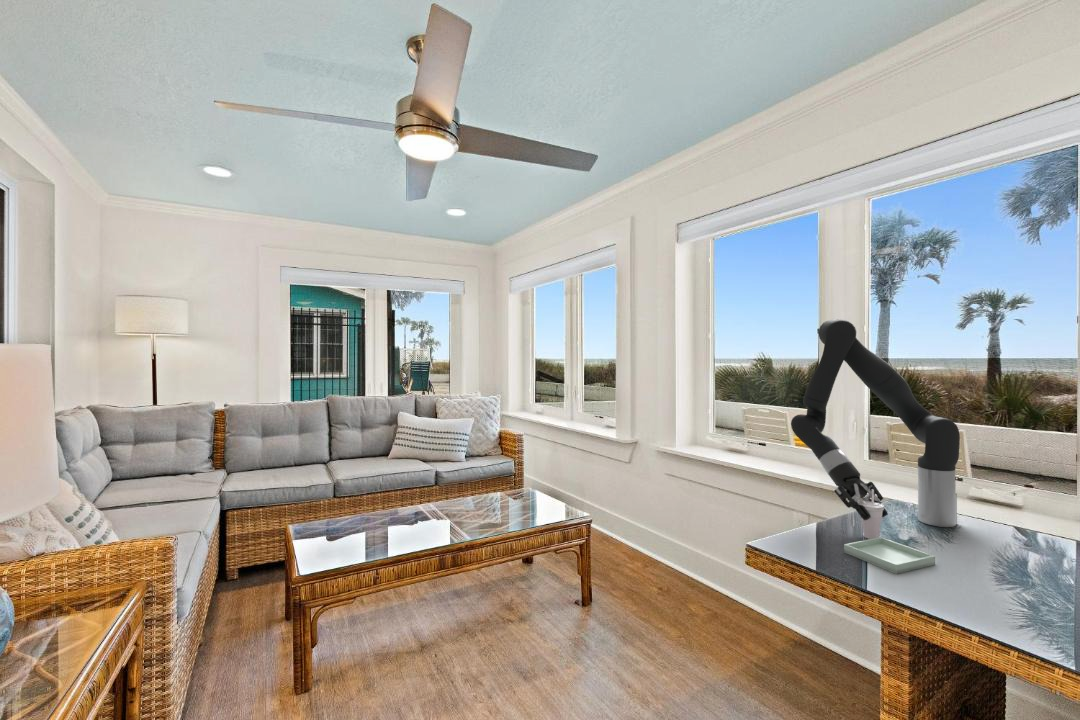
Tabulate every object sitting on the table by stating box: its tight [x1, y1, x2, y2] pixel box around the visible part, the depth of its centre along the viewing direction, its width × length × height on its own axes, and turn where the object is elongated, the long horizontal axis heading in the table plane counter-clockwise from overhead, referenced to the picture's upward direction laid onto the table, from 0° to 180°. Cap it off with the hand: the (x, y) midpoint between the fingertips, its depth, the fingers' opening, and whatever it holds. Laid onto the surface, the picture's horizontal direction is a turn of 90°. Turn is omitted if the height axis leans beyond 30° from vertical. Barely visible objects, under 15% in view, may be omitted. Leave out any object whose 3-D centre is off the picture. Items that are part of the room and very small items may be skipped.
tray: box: [843, 536, 936, 575], centre depth 129 cm, size 14×14×2 cm
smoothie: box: [860, 489, 885, 540], centre depth 144 cm, size 6×6×14 cm
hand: (876, 517), depth 142 cm, fingers closed on smoothie, 6 cm apart
